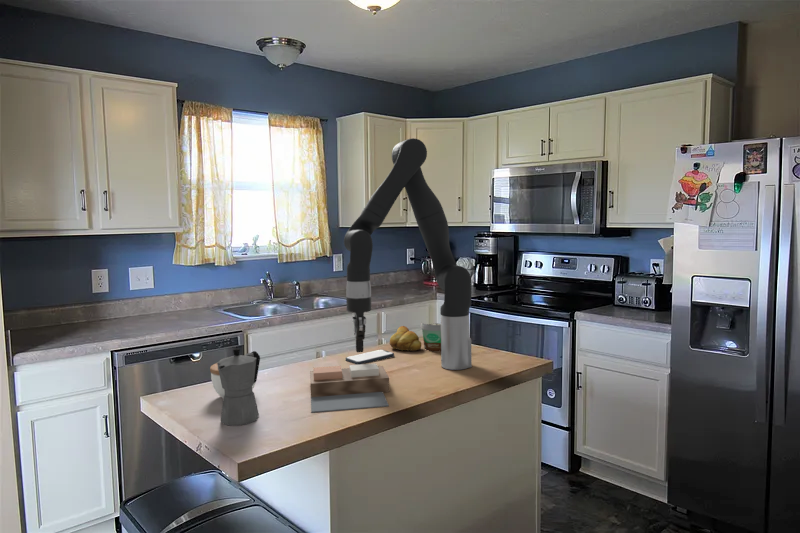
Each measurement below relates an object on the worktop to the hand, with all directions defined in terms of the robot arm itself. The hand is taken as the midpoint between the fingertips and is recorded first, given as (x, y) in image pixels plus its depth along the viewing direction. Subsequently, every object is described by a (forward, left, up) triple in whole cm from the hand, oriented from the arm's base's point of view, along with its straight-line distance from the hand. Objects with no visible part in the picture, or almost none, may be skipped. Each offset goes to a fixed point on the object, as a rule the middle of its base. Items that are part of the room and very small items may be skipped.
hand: (359, 351), depth 168 cm
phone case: (-6, -24, -9) cm, 26 cm away
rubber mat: (+5, +21, -9) cm, 23 cm away
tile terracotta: (+10, +8, -4) cm, 14 cm away
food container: (-31, -29, -9) cm, 43 cm away
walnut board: (+4, +8, -9) cm, 12 cm away
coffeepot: (+32, +26, -9) cm, 42 cm away
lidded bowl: (+36, +8, -9) cm, 38 cm away
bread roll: (-20, -34, -9) cm, 40 cm away
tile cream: (0, +8, -4) cm, 9 cm away
